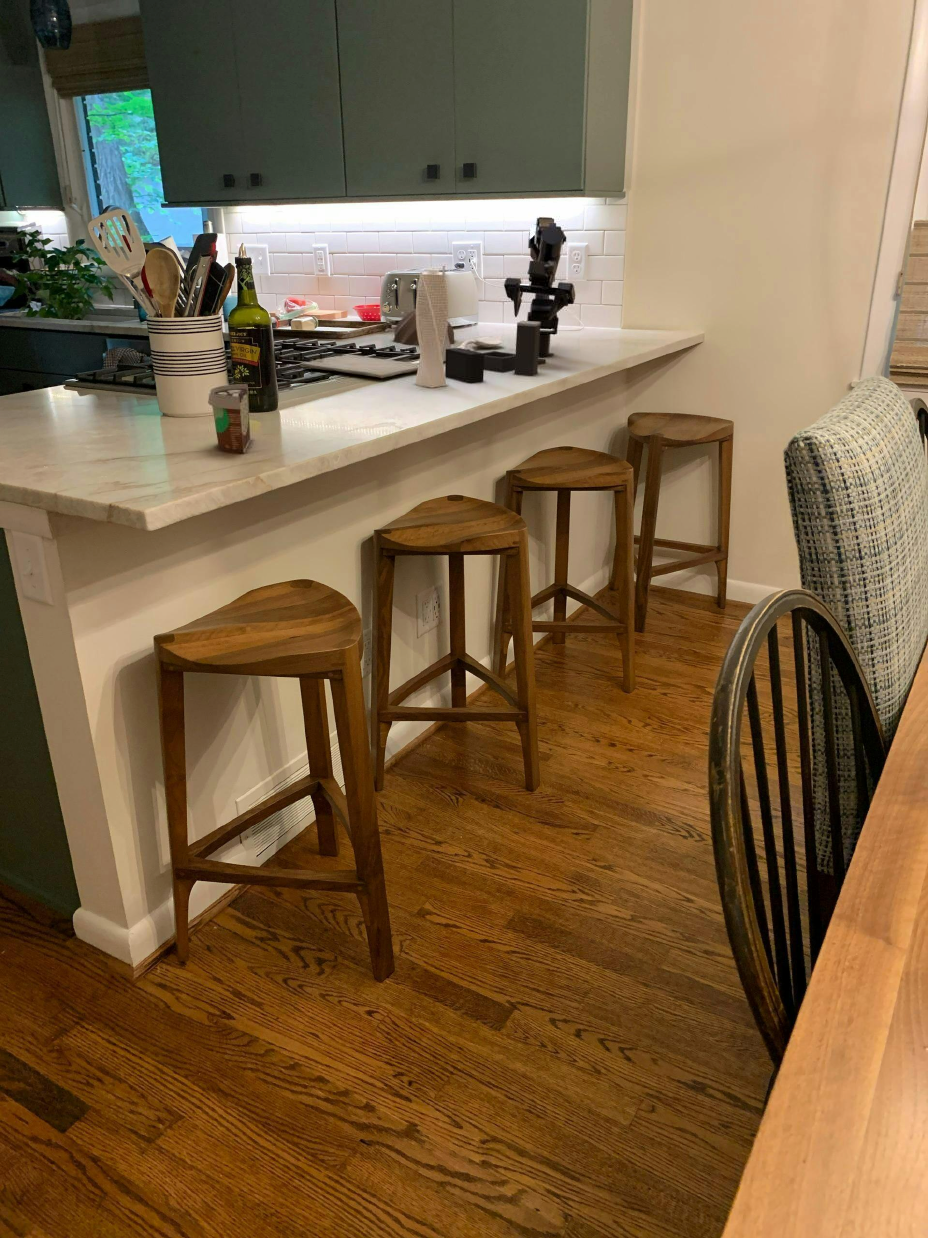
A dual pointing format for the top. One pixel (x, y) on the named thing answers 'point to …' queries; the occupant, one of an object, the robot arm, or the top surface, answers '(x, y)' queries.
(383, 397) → the top surface
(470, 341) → the spoon
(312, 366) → the decorative slab
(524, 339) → the pad block
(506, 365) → the dark grey tray
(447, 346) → the flask
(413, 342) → the decorative dome
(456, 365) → the black rectangular block
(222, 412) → the food container
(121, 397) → the top surface
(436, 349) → the skyscraper
